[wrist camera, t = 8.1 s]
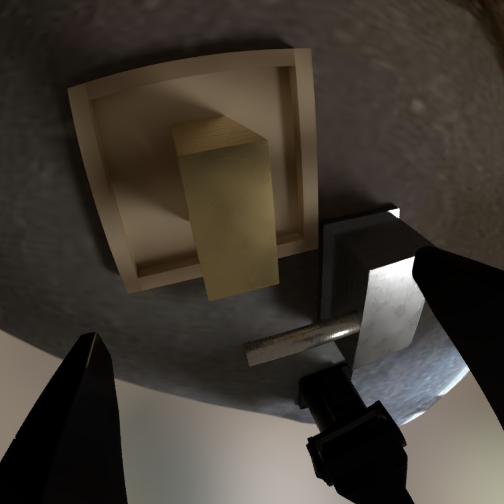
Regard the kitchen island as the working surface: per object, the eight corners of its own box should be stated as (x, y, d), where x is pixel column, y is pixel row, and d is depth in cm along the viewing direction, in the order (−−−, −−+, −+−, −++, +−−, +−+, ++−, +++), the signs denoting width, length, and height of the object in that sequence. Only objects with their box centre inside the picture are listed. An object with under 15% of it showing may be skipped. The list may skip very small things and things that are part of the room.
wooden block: (237, 211, 20) (279, 283, 13) (189, 221, 19) (208, 301, 13) (224, 115, 17) (268, 140, 10) (171, 125, 16) (177, 156, 10)
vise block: (379, 306, 30) (412, 347, 25) (238, 350, 27) (256, 405, 22) (395, 205, 24) (444, 240, 19) (217, 244, 22) (238, 300, 17)
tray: (307, 236, 23) (318, 248, 22) (129, 278, 21) (127, 294, 19) (297, 50, 16) (310, 48, 15) (75, 87, 14) (67, 88, 12)
